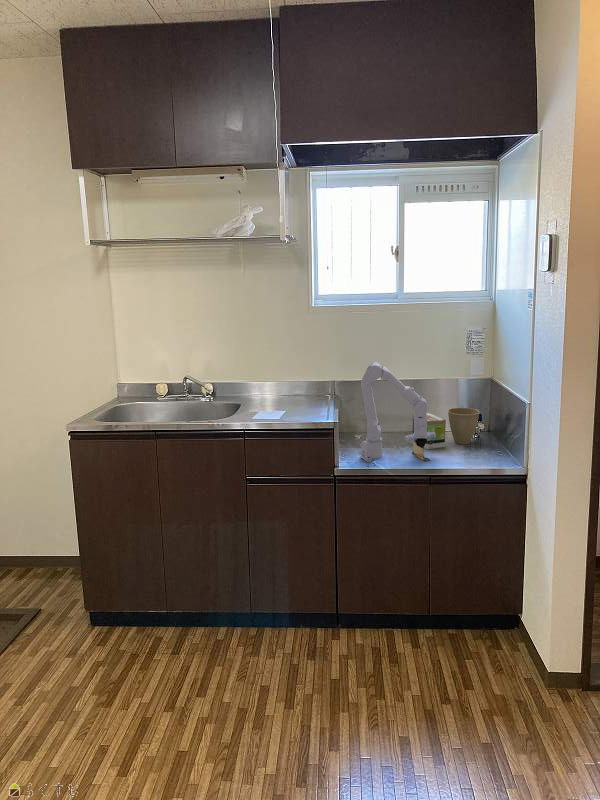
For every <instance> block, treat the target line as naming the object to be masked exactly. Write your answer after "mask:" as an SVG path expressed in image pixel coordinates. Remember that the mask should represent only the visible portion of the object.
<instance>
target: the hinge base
mask: <svg viewBox="0 0 600 800" xmlns="http://www.w3.org/2000/svg"><path fill="white" fill-rule="evenodd" d="M414 454H415V453H414V450H413V451H412V452H411V455H413V456H415V455H414ZM430 461H431V459H430V458H429V457H425V458H424V460H423V462H424V463H425V462H430Z"/></svg>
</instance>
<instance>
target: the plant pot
mask: <svg viewBox="0 0 600 800" xmlns="http://www.w3.org/2000/svg"><path fill="white" fill-rule="evenodd" d="M447 415H448V422H449V427H450V431H451V435H452V438H453V441H454V443H455V444H457V445H469V444H471V443H472V439H473V437H474V435H475V432H476V429H477V426H478V423H479V416H480V410H478V409H476V408H471V407H470V408H469V407H451V408H449V409H448V410H447Z"/></svg>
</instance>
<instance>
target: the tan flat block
mask: <svg viewBox="0 0 600 800" xmlns="http://www.w3.org/2000/svg"><path fill="white" fill-rule="evenodd" d="M412 446H413V451H414V453H415V454H414V455H413V456H415V457H417V458H418V459H421V460H422V461H424V458H426V457H425V453H424V452H425V451H424V448H423V447H421V446H419V445H417V444H416V443H413V442H412Z"/></svg>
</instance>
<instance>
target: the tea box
mask: <svg viewBox="0 0 600 800" xmlns="http://www.w3.org/2000/svg"><path fill="white" fill-rule="evenodd" d="M446 421H447V420H446V419H445V418H443V417H440V416H438V415H437V414H433V413H431V412H427V432H435V433H436V437H429V438H426V439H427V442H426V444H425V446H424V448H425V449H426V450H432V449H438V448H445V447H446V427H447V426H446V424H447V423H446ZM412 434H414V414H413V415H412ZM413 443H415V444H416V442H415V440H412V444H413ZM424 448H423V449H424Z"/></svg>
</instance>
